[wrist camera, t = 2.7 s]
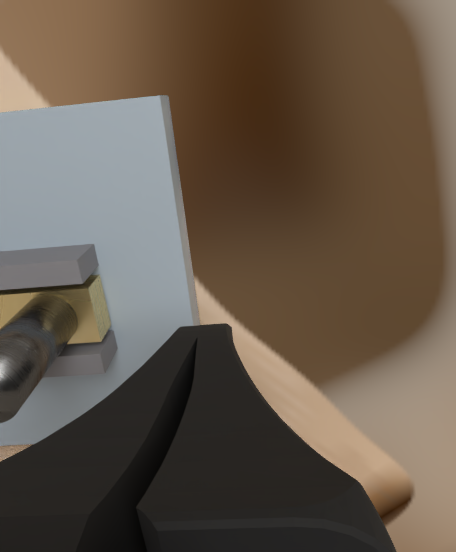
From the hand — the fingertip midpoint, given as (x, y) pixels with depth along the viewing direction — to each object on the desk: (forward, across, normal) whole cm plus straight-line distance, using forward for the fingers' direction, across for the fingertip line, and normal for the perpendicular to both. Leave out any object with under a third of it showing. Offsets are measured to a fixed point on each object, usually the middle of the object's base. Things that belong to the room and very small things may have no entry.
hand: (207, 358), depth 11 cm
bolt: (+4, +8, 0) cm, 9 cm away
